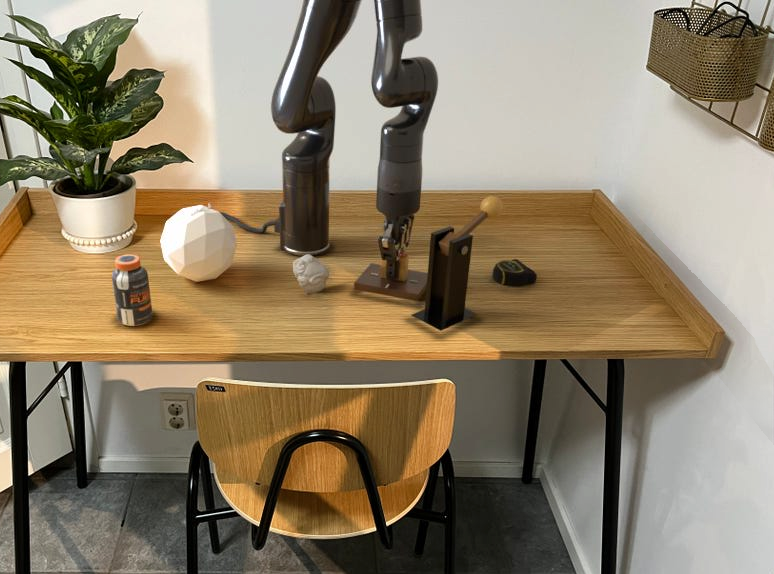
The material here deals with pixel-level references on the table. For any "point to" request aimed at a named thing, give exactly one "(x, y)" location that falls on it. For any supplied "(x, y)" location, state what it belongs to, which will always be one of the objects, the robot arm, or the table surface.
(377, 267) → the lock plate
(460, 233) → the latch lever
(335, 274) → the table surface
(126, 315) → the pill bottle
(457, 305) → the bracket
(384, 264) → the tan wooden block
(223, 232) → the geodesic sphere
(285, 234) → the robot arm
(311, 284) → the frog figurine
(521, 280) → the tape measure
